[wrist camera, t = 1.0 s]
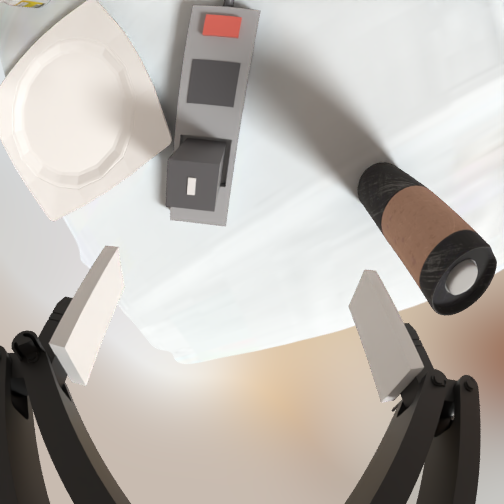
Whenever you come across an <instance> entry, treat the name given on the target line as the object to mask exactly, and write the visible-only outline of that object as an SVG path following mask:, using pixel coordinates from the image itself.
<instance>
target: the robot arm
mask: <svg viewBox="0 0 504 504" xmlns="http://www.w3.org/2000/svg"><path fill="white" fill-rule="evenodd" d="M124 288H125V285H124V280H123V274H122V268H121V262H120V255H119V248H118V247H113V246H105V247H104V249H103V250H102V252H101V253H100V255H99V256H98V258H97V259H96V261H95V262H94V264H93V266H92V267H91V269H90V270H89V272H88V274H87V275H86V277H85V279H84V280H83V282H82V283H81V285H80V287H79V289H78V290H77V292H76V294H75V296H74V297H73V298H69V297H64V298H63V299H62V300H61V301H60V302H58V303H57V305H56V307H55V308H54V310H53V313H52V314H51V315H50V317H49V320H48V321H47V322H46V324H45V326H44V328H43V330H42V331H41V334H40V335H39V337H37V335H36V334H35V333H34V332H32V331H23V332H21V333H19V334H18V335H17V336H16V337H15V338H14V339H13V342H12V350H13V351H14V353H7V352H6V351H5V349H4V348H3V347H2V346H0V504H50V502H49V498H48V495H47V491H46V487H45V483H44V479H43V475H42V471H41V465H40V461H39V455H38V449H37V443H36V436H35V428H34V419H33V412H34V415H35V418H36V420H37V424H38V426H39V429H40V432H41V435H42V437H43V440H44V442H45V445H46V447H47V450H48V452H49V454H50V457H51V459H52V461H53V463H54V465H55V468H56V470H57V472H58V474H59V476H60V478H61V480H62V482H63V484H64V486H65V488H66V490H67V492H68V493H69V495H70V497H71V499H72V501H73V503H74V504H131V503H130V502H129V500H128V499H127V497H126V496H125V494H124V493H123V492H122V490H121V489H120V487H119V486H118V484H117V483H116V481H115V480H114V478H113V476H112V475H111V473H110V471H109V470H108V468H107V466H106V465H105V463H104V461H103V460H102V458H101V456H100V455H99V453H98V451H97V449H96V447H95V445H94V443H93V442H92V440H91V438H90V436H89V434H88V432H87V430H86V428H85V426H84V424H83V421H82V420H81V417H80V415H79V413H78V411H77V408H76V406H75V404H74V402H73V399H72V397H71V395H70V392H69V389H68V387H67V385H66V383H65V380H66V377H67V375H68V377H69V378H70V380H71V382H74V383H78V384H81V385H85V386H86V385H87V382H88V379H89V376H90V373H91V370H92V367H93V365H94V362H95V359H96V357H97V353H98V351H99V349H100V346H101V343H102V341H103V338H104V336H105V333H106V331H107V328H108V326H109V323H110V321H111V318H112V316H113V314H114V311H115V309H116V307H117V304H118V302H119V300H120V297H121V295H122V293H123V291H124ZM349 309H350V312H351V314H352V317H353V320H354V322H355V325H356V328H357V331H358V334H359V336H360V339H361V342H362V345H363V348H364V351H365V354H366V357H367V360H368V363H369V366H370V369H371V372H372V375H373V378H374V381H375V384H376V387H377V391H378V394H379V397H380V401H381V402H387V401H393V400H395V399H396V398H397V397H398V396H399V394H401V397H402V400H401V401H400V402H399V403H398V404H397V405H396V406H395V407H394V408H393V409H392V411H394V410H395V409H396V411H395V414H394V416H393V418H392V420H391V423H390V425H389V427H388V429H387V431H386V433H385V435H384V437H383V439H382V441H381V443H380V445H379V447H378V449H377V451H376V453H375V455H374V456H373V458H372V460H371V462H370V464H369V465H368V467H367V469H366V470H365V472H364V474H363V476H362V477H361V479H360V481H359V482H358V484H357V486H356V487H355V489H354V490H353V492H352V493H351V495H350V496H349V498H348V499H347V501H346V502H345V504H406V503H407V501H408V498H409V496H410V494H411V492H412V490H413V488H414V485H415V483H416V481H417V479H418V477H419V474H420V472H421V469H422V467H423V465H424V470H423V475H422V480H421V485H420V490H419V495H418V499H417V503H416V504H475V501H476V495H477V486H478V477H479V464H480V463H479V462H480V404H479V391H478V385H477V383H476V381H475V380H474V379H473V378H472V377H471V376H468V375H464V376H462V377H461V378H460V379H459V380H458V381H455V380H449V379H447V378H446V376H445V375H444V374H443V373H442V372H441V371H439V370H436V369H434V368H433V366H432V364H431V362H430V360H429V358H428V355H427V353H426V351H425V349H424V347H423V346H422V343H421V341H420V340H419V337H418V335H417V333H416V331H415V330H414V328H413V327H412V326H411V325H410V324H409V323H403V321H402V319H401V317H400V315H399V313H398V311H397V309H396V307H395V305H394V303H393V301H392V299H391V297H390V295H389V294H388V292H387V290H386V288H385V286H384V284H383V282H382V281H381V279H380V277H379V275H378V273H377V272H376V271H373V270H364V272H363V274H362V277H361V279H360V281H359V284H358V286H357V288H356V291H355V293H354V295H353V298H352V300H351V302H350V304H349ZM424 462H425V463H424Z"/></svg>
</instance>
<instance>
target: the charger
mask: <svg viewBox="0 0 504 504" xmlns="http://www.w3.org/2000/svg"><path fill="white" fill-rule="evenodd" d="M225 149H226V142H222V141H214V140H204V139H194V138H187V139H186V140H185V141H184V142H183V143H182V144H181V145H180V147H179V148H178V149H177V150H176V151H175V152H174V153H173V154H172V156H171V157H170V158H169V159H168V169H167V193H166V206H167V207H176V208H185V209H194V210H203V211H211V212H214V211H215V206H216V202H217V197H218V192H219V188H220V183H221V179H222V171H223V163H224V156H225Z"/></svg>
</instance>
